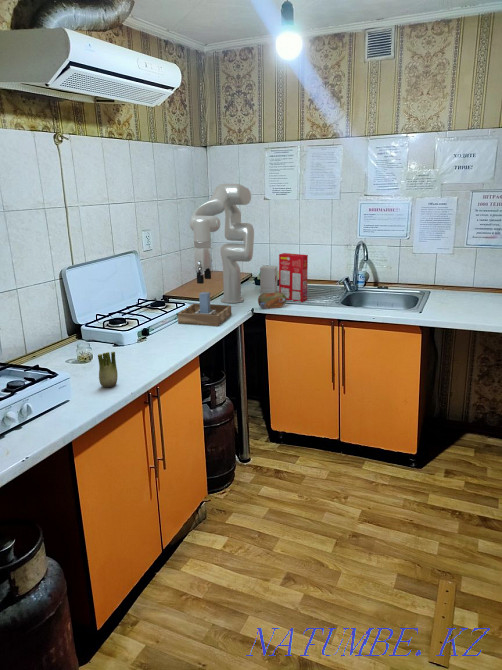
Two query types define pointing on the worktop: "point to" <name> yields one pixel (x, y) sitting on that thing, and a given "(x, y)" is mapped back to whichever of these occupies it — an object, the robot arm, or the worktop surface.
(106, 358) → the fennel bulb
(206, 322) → the walled box
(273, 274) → the supplement box
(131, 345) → the worktop surface
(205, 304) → the connector
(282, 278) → the food packaging
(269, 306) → the brown snack packet
